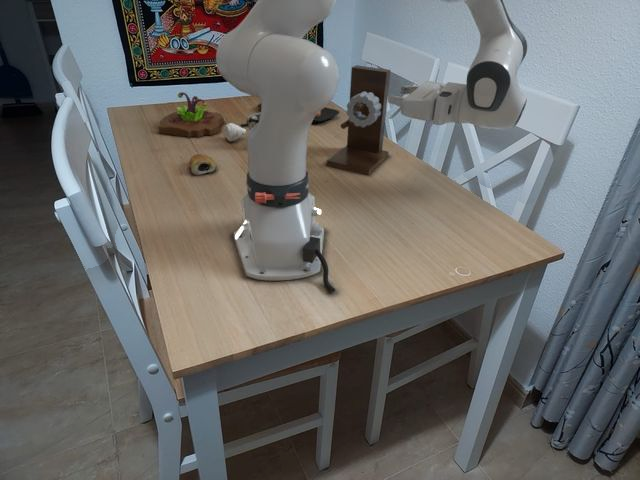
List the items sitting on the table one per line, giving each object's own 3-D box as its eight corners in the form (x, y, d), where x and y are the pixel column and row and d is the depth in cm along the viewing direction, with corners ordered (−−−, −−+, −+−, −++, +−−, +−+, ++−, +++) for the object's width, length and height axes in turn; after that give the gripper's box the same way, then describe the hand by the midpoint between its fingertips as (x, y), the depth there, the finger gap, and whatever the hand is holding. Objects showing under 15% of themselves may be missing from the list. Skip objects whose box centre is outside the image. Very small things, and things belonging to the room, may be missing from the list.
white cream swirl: (249, 141, 139) (248, 124, 136) (231, 144, 136) (229, 126, 133) (243, 135, 143) (241, 118, 140) (225, 138, 140) (223, 121, 137)
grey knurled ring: (374, 129, 117) (377, 98, 112) (345, 124, 120) (347, 93, 115) (379, 125, 120) (382, 94, 115) (351, 120, 123) (353, 89, 118)
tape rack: (368, 175, 120) (376, 83, 107) (326, 165, 125) (330, 76, 111) (388, 156, 131) (397, 70, 118) (349, 148, 136) (354, 64, 123)
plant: (172, 115, 157) (167, 83, 151) (228, 117, 156) (225, 85, 150) (152, 136, 140) (145, 100, 134) (214, 138, 140) (210, 102, 134)
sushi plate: (342, 116, 161) (343, 105, 159) (291, 140, 140) (291, 128, 138) (279, 101, 174) (278, 91, 172) (224, 121, 153) (223, 110, 151)
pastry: (187, 162, 124) (185, 149, 122) (211, 159, 126) (210, 146, 124) (192, 176, 117) (190, 162, 115) (218, 173, 119) (217, 159, 117)
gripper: (463, 79, 112) (410, 72, 118) (442, 99, 97) (382, 90, 102) (458, 104, 116) (407, 96, 121) (437, 127, 101) (379, 117, 106)
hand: (395, 93), depth 112 cm, fingers open, 8 cm apart
